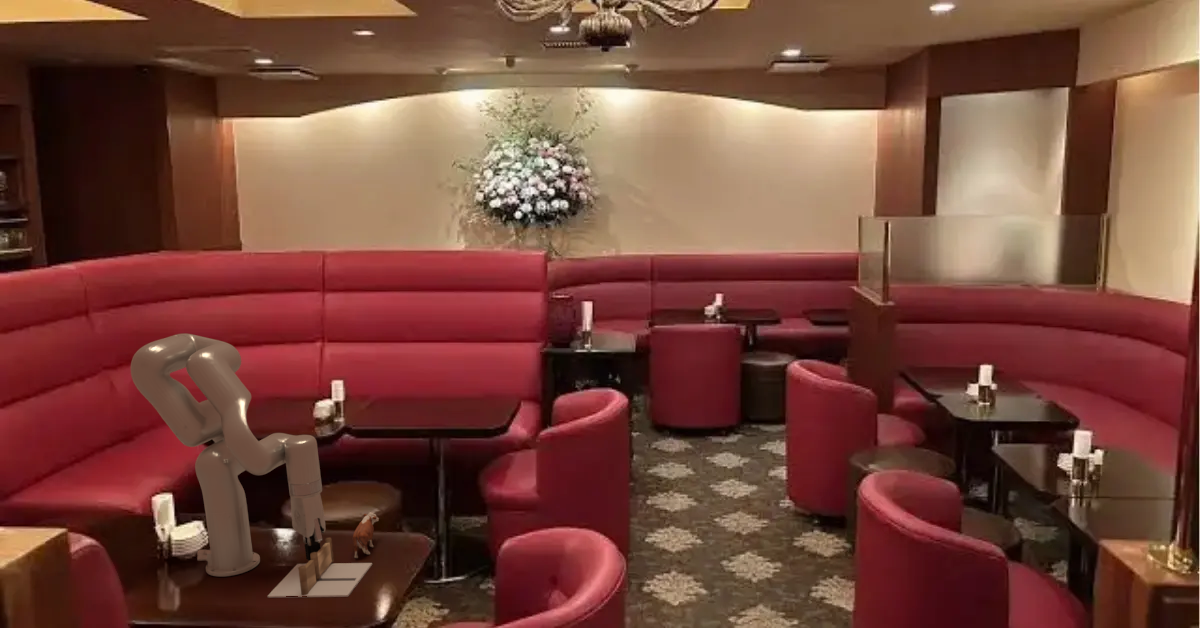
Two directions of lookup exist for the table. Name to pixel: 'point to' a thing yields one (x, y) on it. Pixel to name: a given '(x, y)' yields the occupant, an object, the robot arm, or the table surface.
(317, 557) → the fence panel
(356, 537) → the bull figurine
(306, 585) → the fixed fence section
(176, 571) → the table surface
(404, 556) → the table surface
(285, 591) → the card
